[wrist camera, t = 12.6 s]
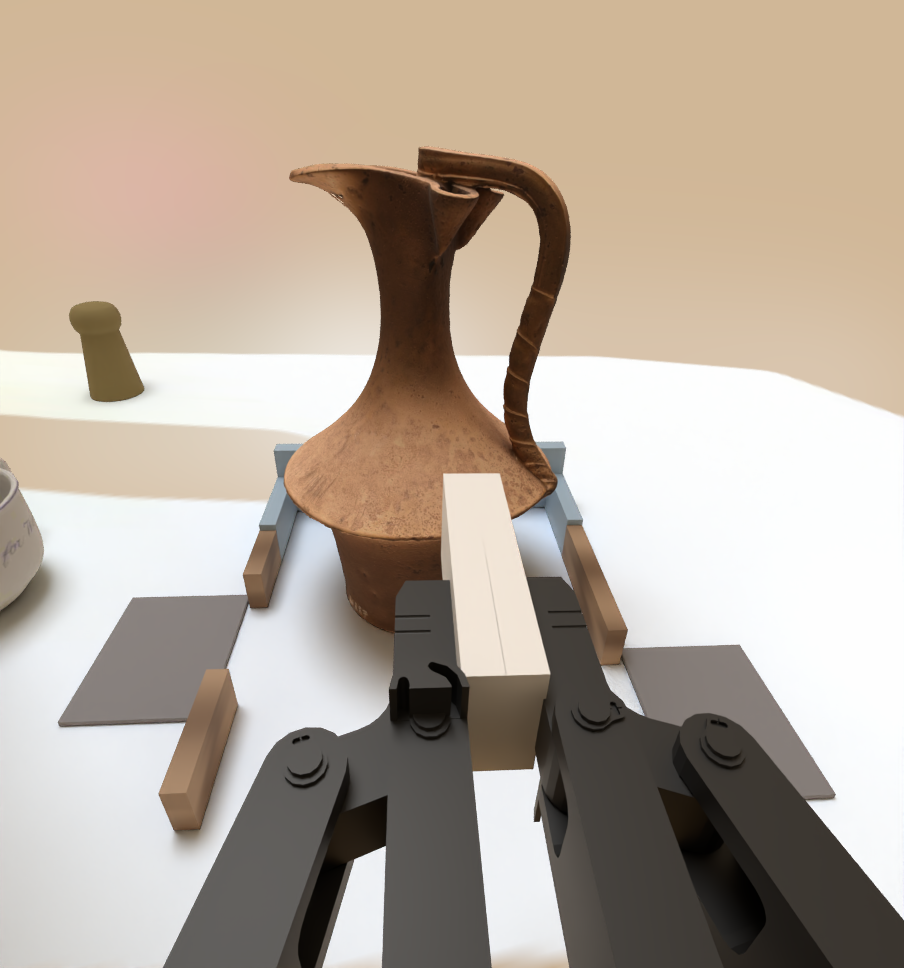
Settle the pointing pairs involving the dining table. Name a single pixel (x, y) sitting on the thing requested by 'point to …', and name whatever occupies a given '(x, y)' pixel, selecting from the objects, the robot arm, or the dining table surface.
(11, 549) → the teacup
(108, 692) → the mat
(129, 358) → the cork
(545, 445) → the pocket
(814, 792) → the mat
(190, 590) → the dining table surface
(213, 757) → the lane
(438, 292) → the pitcher
